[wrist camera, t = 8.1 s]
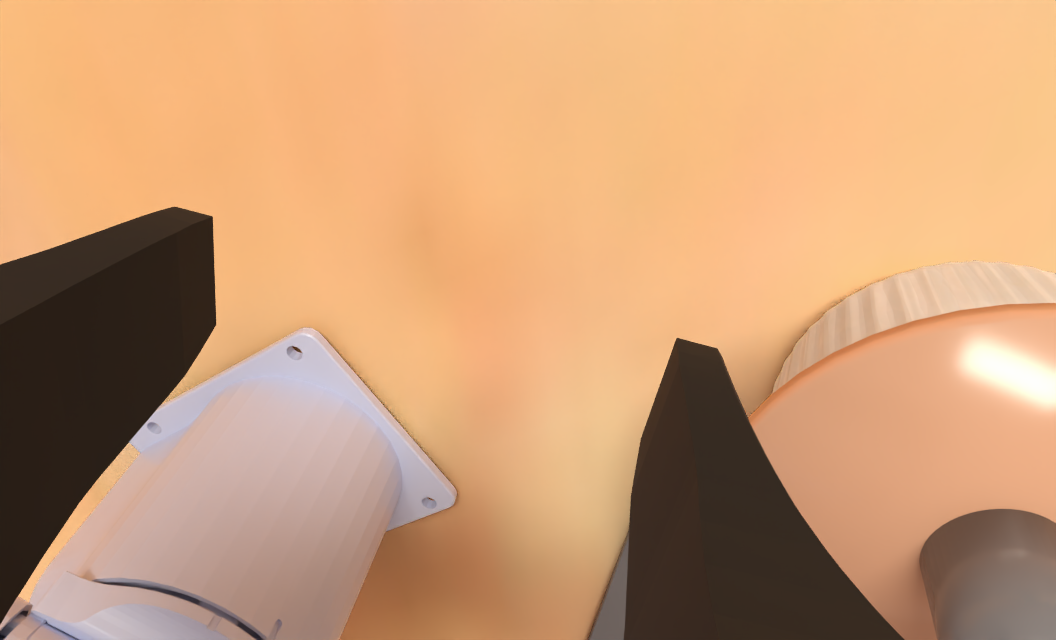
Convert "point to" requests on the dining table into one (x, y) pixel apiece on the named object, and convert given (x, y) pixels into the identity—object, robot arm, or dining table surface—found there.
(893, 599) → the lid
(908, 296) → the ramekin
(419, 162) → the dining table surface
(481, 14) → the dining table surface
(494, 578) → the dining table surface
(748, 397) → the dining table surface
